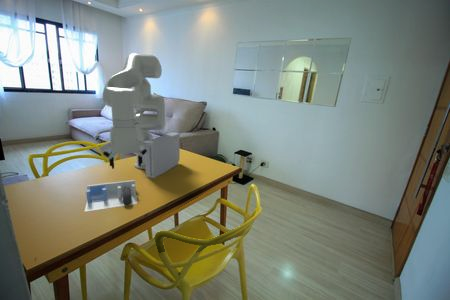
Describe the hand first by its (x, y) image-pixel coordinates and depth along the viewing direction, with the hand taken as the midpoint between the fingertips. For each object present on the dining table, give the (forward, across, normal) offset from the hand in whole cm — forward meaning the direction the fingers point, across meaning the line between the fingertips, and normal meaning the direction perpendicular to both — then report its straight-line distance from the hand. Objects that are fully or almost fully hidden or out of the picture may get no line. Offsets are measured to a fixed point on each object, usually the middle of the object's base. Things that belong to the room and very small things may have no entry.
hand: (126, 166), depth 86 cm
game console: (+17, -20, -34) cm, 43 cm away
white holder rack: (+17, +6, -8) cm, 20 cm away
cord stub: (+17, 0, -4) cm, 17 cm away
